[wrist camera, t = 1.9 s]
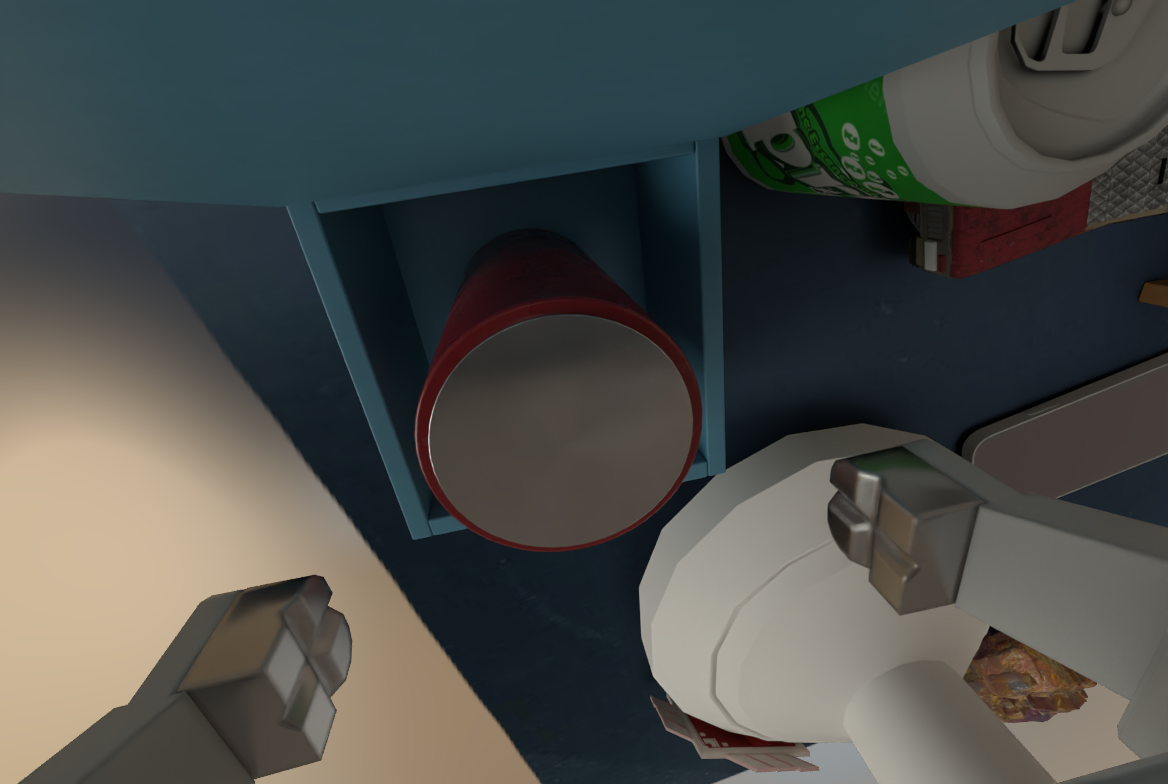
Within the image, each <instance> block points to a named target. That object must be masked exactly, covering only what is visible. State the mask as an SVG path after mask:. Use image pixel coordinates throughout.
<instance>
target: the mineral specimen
mask: <svg viewBox="0 0 1168 784" xmlns="http://www.w3.org/2000/svg"><path fill="white" fill-rule="evenodd" d="M963 680H964V681H965V682H966V683H967V684H968V685H969V686H970V687H971V688H972V690H973V691H974V692H975V693H976V694H977V695H978V696H979V697H980V698H981V699H982V701H983V702H984V703H985V704H986V705H987V706H988V707H989V708H990V709H991V710H992V712H993V713H994V714H995V715H996V716H997V717H998V718H999V719H1000V720H1001V721H1002V723H1004V722H1008V723H1010V722H1011V723H1015V722H1028V721H1037V722H1045V721H1047V720H1049V719H1050V718H1051V717H1053V716H1054V715H1056V714H1057V713H1061V712H1070V711H1072V710H1075V709H1080V707H1081V706H1082V705H1083V704H1084V702H1086V701H1087V700H1086V699H1085V698H1088V696H1087V694H1086V693H1085V691H1084V690H1083V689H1084V688H1090V687H1094V686H1095V685H1097V683H1096V682H1094V681H1093V680H1091V679H1089V678H1087V677H1085V676H1083V675H1081V674H1079V673H1078V672H1076V671H1074V670H1072V669H1070V668H1068V667H1066V666H1064V665H1063V664H1061V663H1059V662H1057V661H1055V660H1053V659H1051V658H1049V657H1048V656H1046V655H1044V654H1042V653H1040V652H1038V651H1036V650H1034V649H1033V648H1031V647H1029V646H1027V645H1025V644H1023V643H1021V642H1020V641H1018V640H1016V639H1014V638H1012V637H1010V636H1008V635H1006V634H1005V633H1003V632H1001V631H999V630H997V629H995V628H993V627H991V626H989V629H988V632H987V634H986V635H985V636H984V638H983V639H982V642H981V645H980V647H979V649H978V651H977V652H976V654H975V655H974V657H973V659H972V661H971V663H970V665H969V667H968V669H967V671H966V673H965V675H964V677H963Z"/></svg>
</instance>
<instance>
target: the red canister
mask: <svg viewBox="0 0 1168 784" xmlns="http://www.w3.org/2000/svg"><path fill="white" fill-rule="evenodd" d="M702 413H703V409H702V401H701V393H700V389H699V386H698V382H697V378H696V376H695V374H694V371H693V369H692V367H691V365H690V362H689V361H688V359H687V358H686V356H685V355H684V353H683V351H682V350H681V348H680V347H679V346H678V345H677V344H676V342H675V341H674V340H673V339H672V338H671V337H670V336H669V334H668V333H667V332H666V331H665V330H663V329H662V328H661V327H660V326H659V325H658V324H657V323H656V322H655V321H654V320H653V319H652V318H651V317H650V316H649V315H648V314H647V313H646V312H645V311H644V310H643V309H642V308H641V307H640V306H639V305H638V304H637V303H636V302H635V301H634V300H633V299H632V298H631V297H630V296H629V295H628V294H627V293H626V292H625V291H624V290H623V289H622V288H621V287H620V286H619V285H618V284H617V283H616V282H615V281H614V280H613V279H612V278H611V277H610V276H609V275H608V274H607V273H606V272H605V271H604V270H603V269H601V268H600V267H599V266H598V265H597V264H596V263H595V262H594V261H593V260H592V259H591V258H590V257H589V256H588V255H587V254H586V253H585V252H584V251H583V250H582V249H581V248H580V247H579V246H578V245H576V244H575V243H574V242H572V241H571V240H569V239H568V238H566V237H564V236H562V235H560V234H558V233H555V232H552V231H549V230H543V229H535V228H526V229H517V230H513V231H509V232H506V233H504V234H501V235H499V236H497V237H495V238H494V239H492V240H490V241H489V242H488V243H486V244H485V245H484V246H482V247H481V248H480V249H479V250H478V251H477V252H476V254H475V255H474V256H473V258H472V259H471V260H470V262H469V264H468V266H467V267H466V269H465V272H464V274H463V277H462V280H461V283H460V285H459V288H458V291H457V294H456V297H455V299H454V302H453V305H452V308H451V311H450V313H449V316H448V319H447V322H446V325H445V327H444V330H443V333H442V336H441V339H440V341H439V344H438V347H437V350H436V353H435V355H434V358H433V361H432V364H431V367H430V369H429V372H428V375H427V378H426V381H425V383H424V386H423V389H422V392H421V394H420V397H419V401H418V406H417V410H416V415H415V430H414V436H415V446H416V453H417V457H418V461H419V465H420V468H421V470H422V473H423V475H424V477H425V480H426V482H427V484H428V486H429V487H430V489H431V490H432V492H433V494H434V495H435V497H436V498H437V500H438V501H439V502H440V503H441V504H442V506H443V507H444V508H445V509H446V510H447V511H448V512H449V513H450V514H451V515H452V516H453V517H454V518H455V519H456V520H458V521H459V522H460V523H461V524H463V525H464V526H466V527H467V528H469V529H470V530H472V531H473V532H475V533H477V534H479V535H481V536H483V537H485V538H487V539H489V540H492V541H494V542H497V543H499V544H502V545H506V546H510V547H514V548H517V549H523V550H530V551H544V552H556V551H570V550H575V549H581V548H586V547H590V546H594V545H597V544H601V543H604V542H606V541H609V540H611V539H614V538H616V537H618V536H620V535H622V534H624V533H626V532H628V531H630V530H632V529H634V528H635V527H637V526H638V525H640V524H641V523H643V522H644V521H646V520H647V519H648V518H650V517H651V516H652V515H653V514H655V513H656V512H657V511H658V510H659V509H660V508H661V507H662V506H663V505H664V504H665V503H666V502H667V501H668V500H669V499H670V498H671V497H672V495H673V494H674V493H675V492H676V490H677V489H678V488H679V487H680V485H681V483H682V482H683V480H684V478H685V477H686V475H687V474H688V472H689V470H690V467H691V465H692V463H693V461H694V459H695V456H696V452H697V449H698V446H699V442H700V437H701V431H702Z"/></svg>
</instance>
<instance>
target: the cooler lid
mask: <svg viewBox="0 0 1168 784" xmlns="http://www.w3.org/2000/svg"><path fill="white" fill-rule="evenodd" d="M1075 1H1078V0H0V192H5V193H24V194H42V195H61V196H81V197H99V198H100V197H101V198H118V199H137V200H156V201H175V202H194V203H213V204H232V205H251V206H270V207H282V206H288V205H295V204H301V203H307V202H313V201H320V200H326V199H332V198H339V197H345V196H351V195H358V194H364V193H370V192H377V191H383V190H389V189H396V188H402V187H408V186H414V185H421V184H427V183H433V182H440V181H446V180H452V179H459V178H465V177H471V176H478V175H484V174H490V173H497V172H503V171H509V170H515V169H522V168H528V167H534V166H541V165H547V164H553V163H560V162H566V161H572V160H579V159H585V158H591V157H598V156H604V155H610V154H616V153H623V152H629V151H635V150H642V149H648V148H654V147H661V146H667V145H673V144H680V143H686V142H692V141H699V140H705V139H711V138H718V137H724V136H728V135H730V134H733V133H735V132H738V131H741V130H743V129H746V128H748V127H751V126H754V125H756V124H759V123H761V122H764V121H767V120H769V119H772V118H774V117H777V116H780V115H782V114H785V113H787V112H790V111H792V110H795V109H798V108H800V107H803V106H805V105H808V104H811V103H813V102H816V101H818V100H821V99H824V98H826V97H829V96H831V95H834V94H837V93H839V92H842V91H844V90H847V89H850V88H852V87H855V86H857V85H860V84H862V83H865V82H868V81H870V80H873V79H875V78H878V77H881V76H883V75H886V74H888V73H891V72H894V71H896V70H899V69H901V68H904V67H907V66H909V65H912V64H914V63H917V62H920V61H922V60H925V59H927V58H930V57H932V56H935V55H938V54H940V53H943V52H945V51H948V50H951V49H953V48H956V47H958V46H961V45H964V44H966V43H969V42H971V41H974V40H977V39H979V38H982V37H984V36H987V35H990V34H992V33H995V32H997V31H1000V30H1003V29H1005V28H1008V27H1010V26H1013V25H1015V24H1018V23H1021V22H1023V21H1026V20H1028V19H1031V18H1034V17H1036V16H1039V15H1041V14H1044V13H1047V12H1049V11H1052V10H1054V9H1057V8H1060V7H1062V6H1065V5H1067V4H1070V3H1073V2H1075Z"/></svg>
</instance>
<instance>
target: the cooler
mask: <svg viewBox="0 0 1168 784" xmlns="http://www.w3.org/2000/svg"><path fill="white" fill-rule="evenodd" d="M286 208H287V210H288V213H289V215H290V218H291V221H292V223H293V226H294V229H295V231H296V234H297V236H298V239H299V242H300V244H301V247H302V250H303V252H304V255H305V257H306V260H307V263H308V265H309V268H310V271H311V273H312V276H313V278H314V281H315V284H316V286H317V289H318V291H319V294H320V297H321V299H322V302H323V305H324V307H325V310H326V312H327V315H328V318H329V320H330V323H331V326H332V328H333V331H334V333H335V336H336V339H337V341H338V344H339V346H340V349H341V352H342V354H343V357H344V360H345V362H346V365H347V367H348V370H349V373H350V375H351V378H352V381H353V383H354V386H355V388H356V391H357V394H358V396H359V399H360V402H361V404H362V407H363V409H364V412H365V415H366V417H367V420H368V422H369V425H370V428H371V430H372V433H373V436H374V438H375V441H376V443H377V446H378V449H379V451H380V454H381V457H382V459H383V462H384V464H385V467H386V470H387V472H388V475H389V477H390V480H391V483H392V485H393V488H394V491H395V493H396V496H397V498H398V501H399V504H400V506H401V509H402V512H403V514H404V517H405V519H406V522H407V525H408V527H409V530H410V533H411V535H412V538H413V539H420V538H424V537H429V536H432V534H433V535H438V534H443V533H448V532H452V531H457V530H461V529H466V528H467V527H466V526H464V525H463V524H461V523H460V522H459V521H458V520H456V519H455V518H454V517H453V516H452V515H451V514H450V513H449V512H448V511H447V510H446V509H445V508H444V507H443V506H442V504H441V503H440V502H439V501H438V500H437V498H436V497H435V495H434V494H433V492H432V490H431V489H430V487H429V486H428V484H427V482H426V480H425V477H424V475H423V473H422V470H421V468H420V465H419V461H418V457H417V453H416V446H415V436H414V430H415V415H416V410H417V406H418V401H419V397H420V394H421V392H422V389H423V386H424V383H425V381H426V378H427V375H428V372H429V369H430V367H431V364H432V361H433V358H434V355H435V353H436V350H437V347H438V344H439V341H440V339H441V336H442V333H443V330H444V327H445V325H446V322H447V319H448V316H449V313H450V311H451V308H452V305H453V302H454V299H455V297H456V294H457V291H458V288H459V285H460V283H461V280H462V277H463V274H464V272H465V269H466V267H467V266H468V264H469V262H470V260H471V259H472V258H473V256H474V255H475V254H476V252H477V251H478V250H479V249H480V248H481V247H482V246H484V245H485V244H486V243H488V242H489V241H490V240H492V239H494V238H495V237H497V236H499V235H501V234H504V233H506V232H509V231H513V230H517V229H526V228H535V229H543V230H549V231H552V232H555V233H558V234H560V235H562V236H564V237H566V238H568V239H569V240H571V241H572V242H574V243H575V244H576V245H578V246H579V247H580V248H581V249H582V250H583V251H584V252H585V253H586V254H587V255H588V256H589V257H590V258H591V259H592V260H593V261H594V262H595V263H596V264H597V265H598V266H599V267H600V268H601V269H603V270H604V271H605V272H606V273H607V274H608V275H609V276H610V277H611V278H612V279H613V280H614V281H615V282H616V283H617V284H618V285H619V286H620V287H621V288H622V289H623V290H624V291H625V292H626V293H627V294H628V295H629V296H630V297H631V298H632V299H633V300H634V301H635V302H636V303H637V304H638V305H639V306H640V307H641V308H642V309H643V310H644V311H645V312H646V313H647V314H648V315H649V316H650V317H651V318H652V319H653V320H654V321H655V322H656V323H657V324H658V325H659V326H660V327H661V328H662V329H663V330H665V331H666V332H667V333H668V334H669V336H670V337H671V338H672V339H673V340H674V341H675V342H676V344H677V345H678V346H679V347H680V348H681V350H682V351H683V353H684V355H685V356H686V358H687V359H688V361H689V362H690V365H691V367H692V369H693V371H694V374H695V376H696V378H697V382H698V386H699V389H700V393H701V401H702V409H703V413H702V431H701V437H700V442H699V446H698V449H697V452H696V456H695V459H694V461H693V463H692V465H691V467H690V470H689V472H688V474H687V475H686V477H685V478H684V480H683V482H685V481H689V480H694V479H699V478H703V477H707V474H708V476H712V475H717V474H722V473H725V472H726V459H725V409H724V359H723V309H722V260H721V210H720V160H719V137H718V138H711V139H705V140H699V141H692V142H686V143H680V144H673V145H667V146H661V147H654V148H648V149H642V150H635V151H629V152H623V153H616V154H610V155H604V156H598V157H591V158H585V159H579V160H572V161H566V162H560V163H553V164H547V165H541V166H534V167H528V168H522V169H515V170H509V171H503V172H497V173H490V174H484V175H478V176H471V177H465V178H459V179H452V180H446V181H440V182H433V183H427V184H421V185H414V186H408V187H402V188H396V189H389V190H383V191H377V192H370V193H364V194H358V195H351V196H345V197H339V198H332V199H326V200H320V201H313V202H307V203H301V204H295V205H288V206H286Z"/></svg>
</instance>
